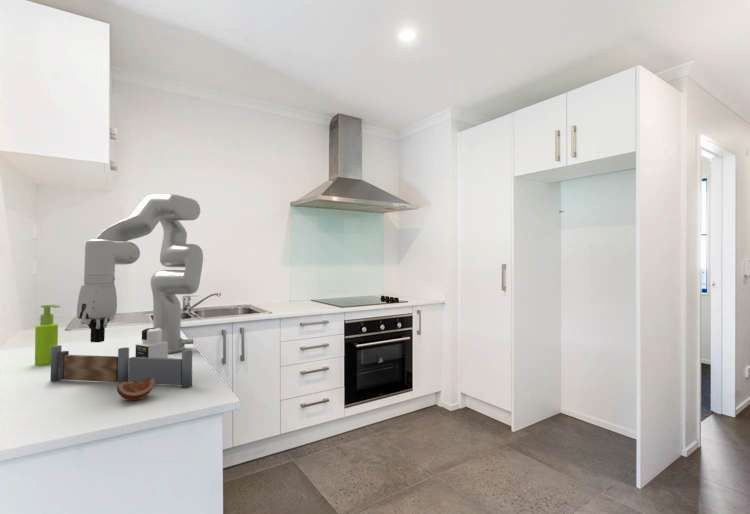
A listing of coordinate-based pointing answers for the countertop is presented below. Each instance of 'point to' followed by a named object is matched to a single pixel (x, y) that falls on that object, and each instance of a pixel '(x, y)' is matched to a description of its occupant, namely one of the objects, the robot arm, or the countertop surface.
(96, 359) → the gate
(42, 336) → the soap dispenser
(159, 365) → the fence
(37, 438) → the countertop surface
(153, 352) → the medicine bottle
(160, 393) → the countertop surface
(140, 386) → the fruit slice
